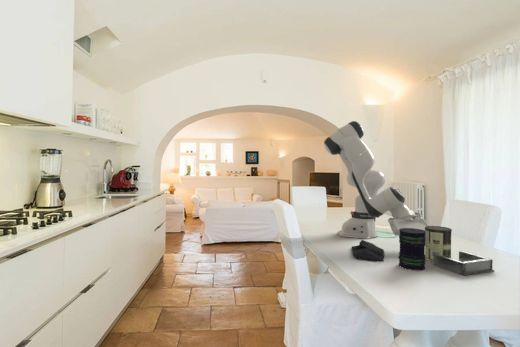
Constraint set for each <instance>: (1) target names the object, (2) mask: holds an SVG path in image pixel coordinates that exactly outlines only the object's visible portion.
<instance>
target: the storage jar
mask: <svg viewBox="0 0 520 347" xmlns="http://www.w3.org/2000/svg"><path fill="white" fill-rule="evenodd" d="M399 231H400V233H399V236H398V239H399V241H398V242H399V251H398V262H399V263H398V266H399V267H400V266H401V267H400V268H402V267H403V268H402V269H405V268H406V269H405V270H409V269H410V270H411V271H424V270H425V269H426V259H425V244H426V243H425V241H426V238H425V237H426V235H425V234H426V231H424V230H421V229H414V228H401V229H399Z"/></svg>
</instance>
